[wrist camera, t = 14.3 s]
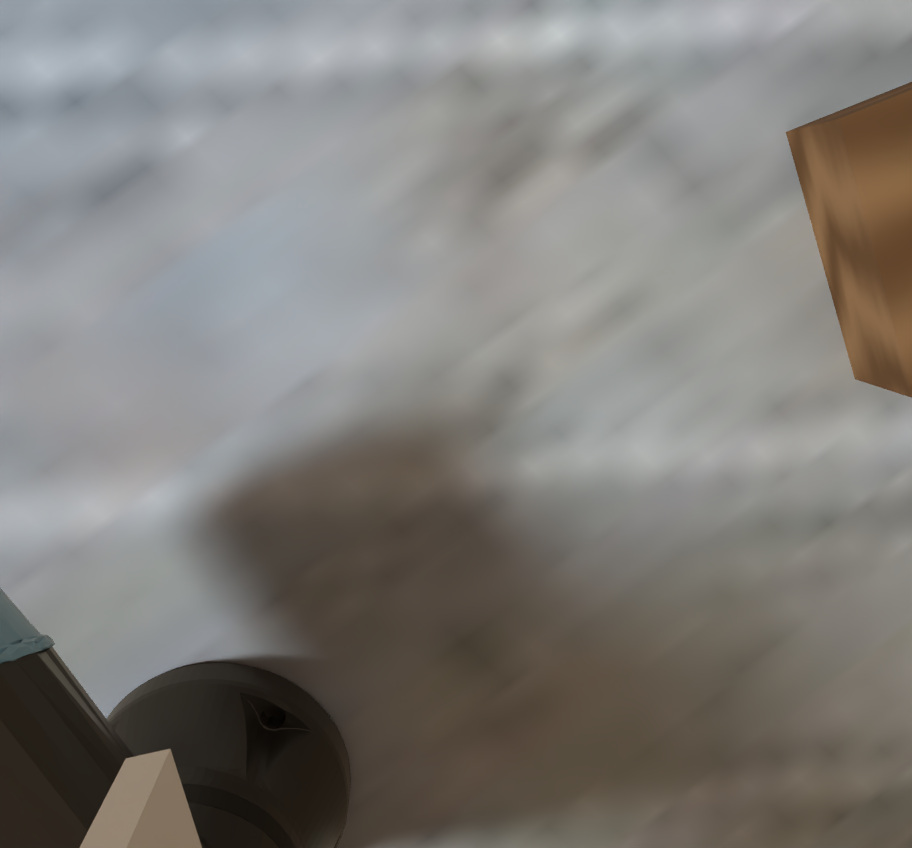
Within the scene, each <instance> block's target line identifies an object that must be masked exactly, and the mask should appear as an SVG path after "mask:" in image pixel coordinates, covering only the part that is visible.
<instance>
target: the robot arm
mask: <svg viewBox="0 0 912 848" xmlns="http://www.w3.org/2000/svg"><path fill="white" fill-rule="evenodd" d="M54 644H55V643H54V642H53V640H52V639H51V638H50V637H49V636H47V635H43V634H40V633H39V632H38V631H37V630H36V629H35V627H34V626H33V625H32V624H31V623H30V622H29V621H28V620H27V618H26V617H25V616H24V615H23V614H22V613H21V611H20V610H19V609H18V608H17V607H16V606H15V604H14V603H13V602H12V601H11V600H10V599H9V597H8V596H7V595H6V594H5V593H4V592H3V590H2V589H1V588H0V848H336V847H337V845H338V843H339V840H340V838H341V835H342V832H343V829H344V826H345V822H346V817H347V811H348V802H349V792H350V766H349V759H348V755H347V751H346V748H345V745H344V742H343V740H342V737H341V735H340V733H339V731H338V729H337V727H336V726H335V724H334V722H333V721H332V719H331V718H330V717H329V715H328V714H327V713H326V711H325V710H324V709H323V708H322V707H321V706H320V705H319V704H318V703H317V702H316V701H315V700H314V699H313V698H312V697H311V696H310V695H309V694H307V693H306V692H305V691H303V690H302V689H301V688H299V687H298V686H296V685H295V684H293V683H291V682H289V681H288V680H286V679H284V678H282V677H280V676H278V675H275V674H273V673H270V672H268V671H265V670H261V669H258V668H254V667H250V666H245V665H239V664H230V663H205V664H196V665H191V666H186V667H182V668H178V669H175V670H172V671H168V672H166V673H163V674H161V675H159V676H156V677H154V678H152V679H150V680H149V681H147V682H145V683H144V684H142V685H140V686H139V687H137V688H136V689H135V690H133V691H132V692H131V693H130V694H128V695H127V696H126V697H125V698H124V699H123V700H122V701H121V702H120V703H119V704H118V705H117V706H116V707H115V708H114V709H113V711H112V712H111V713H110V715H109V716H108V717H107V719H106V718H105V717H104V715H103V714H102V713H101V711H100V710H99V709H98V707H97V706H96V705H95V703H94V702H93V701H92V699H91V698H90V697H89V695H88V694H87V693H86V691H85V690H84V689H83V687H82V686H81V685H80V683H79V682H78V681H77V679H76V678H75V677H74V675H73V674H72V673H71V671H70V670H69V669H68V667H67V666H66V665H65V663H64V662H63V661H62V659H61V658H60V657H59V655H58V654H57V653H56V651H55V650H54V649H53V647H52V646H53V645H54Z"/></svg>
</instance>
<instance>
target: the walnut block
mask: <svg viewBox="0 0 912 848" xmlns="http://www.w3.org/2000/svg"><path fill="white" fill-rule="evenodd" d="M786 134H787V138H788V141H789V145H790V148H791V152H792V156H793V159H794V163H795V166H796V170H797V173H798V177H799V181H800V184H801V188H802V191H803V195H804V198H805V202H806V206H807V209H808V213H809V216H810V220H811V223H812V227H813V231H814V234H815V238H816V241H817V245H818V248H819V252H820V256H821V259H822V263H823V266H824V270H825V273H826V277H827V281H828V284H829V288H830V291H831V295H832V298H833V302H834V306H835V309H836V313H837V316H838V320H839V323H840V327H841V331H842V334H843V338H844V341H845V345H846V348H847V352H848V356H849V359H850V363H851V366H852V370H853V373H854V377H855V379H857V380H860V381H863V382H866V383H869V384H872V385H875V386H878V387H881V388H884V389H887V390H890V391H893V392H896V393H900V394H903V395H906V396H909V397H912V82H910V83H908V84H905V85H903V86H900V87H898V88H895V89H893V90H890V91H888V92H885V93H883V94H880V95H878V96H875V97H873V98H870V99H868V100H865V101H863V102H860V103H858V104H855V105H853V106H850V107H848V108H845V109H843V110H840V111H838V112H835V113H833V114H830V115H828V116H825V117H823V118H820V119H818V120H815V121H813V122H810V123H808V124H805V125H803V126H800V127H798V128H795V129H793V130H790V131H788V132H786Z"/></svg>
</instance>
